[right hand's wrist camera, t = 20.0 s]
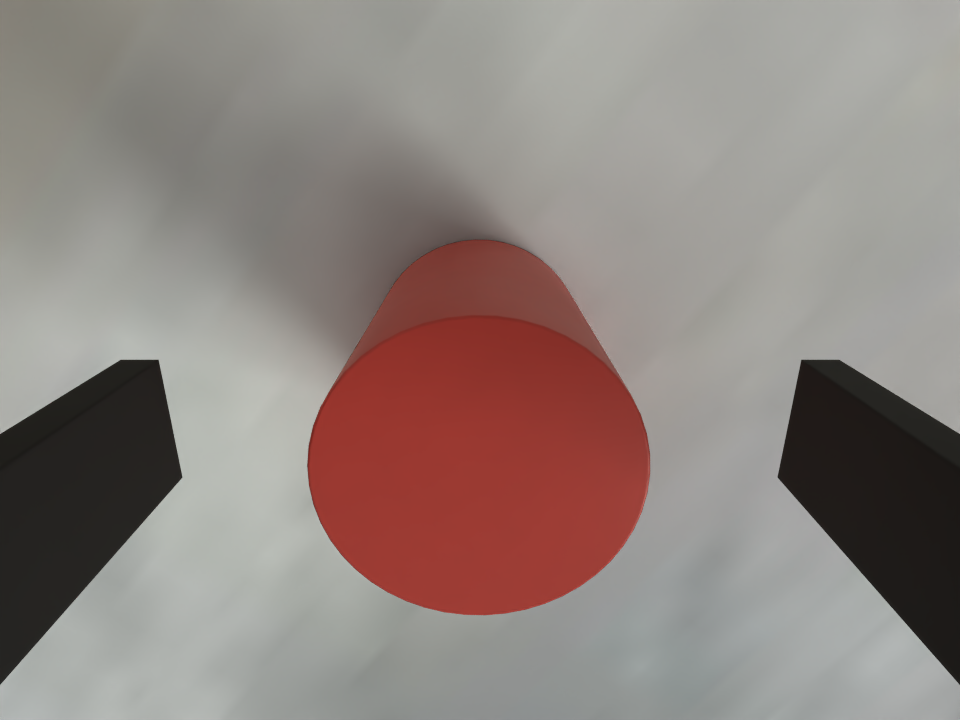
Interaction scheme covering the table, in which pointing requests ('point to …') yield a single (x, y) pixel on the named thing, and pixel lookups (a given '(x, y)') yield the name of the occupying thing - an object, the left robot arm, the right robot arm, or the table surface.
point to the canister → (478, 439)
